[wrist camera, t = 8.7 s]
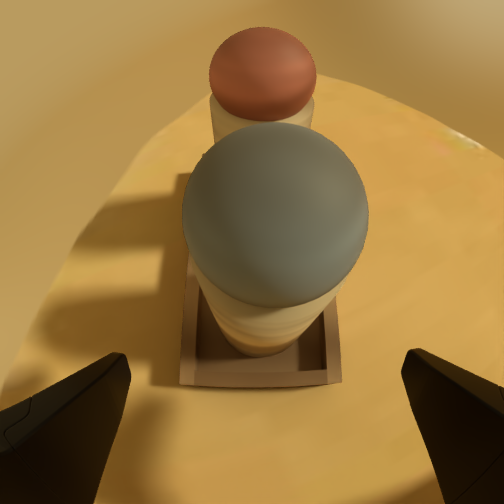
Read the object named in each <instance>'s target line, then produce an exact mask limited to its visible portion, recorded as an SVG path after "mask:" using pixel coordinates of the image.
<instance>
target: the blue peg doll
mask: <svg viewBox="0 0 504 504" xmlns="http://www.w3.org/2000/svg"><path fill="white" fill-rule="evenodd" d="M368 217H369V211H368V202H367V197H366V192H365V188H364V185H363V183H362V180H361V178H360V176H359V174H358V172H357V170H356V168H355V167H354V165H353V163H352V162H351V161H350V159H349V158H348V157H347V156H346V155H345V153H344V152H343V151H342V150H341V149H340V148H339V147H338V146H337V145H336V144H334V143H333V142H332V141H330V140H329V139H327V138H326V137H324V136H323V135H321V134H319V133H317V132H315V131H313V130H311V129H309V128H306V127H303V126H300V125H295V124H291V123H283V122H267V123H259V124H255V125H251V126H247V127H244V128H241V129H239V130H236V131H234V132H232V133H230V134H229V135H227V136H225V137H224V138H222V139H221V140H220V141H218V142H217V143H216V144H214V145H213V146H212V147H211V148H210V149H209V150H208V151H207V152H206V153H205V155H204V156H203V157H202V158H201V159H200V161H199V162H198V163H197V165H196V167H195V169H194V170H193V172H192V174H191V176H190V178H189V181H188V184H187V186H186V190H185V194H184V199H183V204H182V224H183V232H184V236H185V240H186V243H187V246H188V249H189V255H190V261H191V265H192V268H193V271H194V273H195V276H196V278H197V280H198V282H199V285H200V287H201V289H202V291H203V294H204V296H205V298H206V300H207V302H208V304H209V307H210V309H211V311H212V313H213V315H214V317H215V319H216V322H217V324H218V326H219V328H220V330H221V332H222V334H223V336H224V338H225V339H226V340H227V342H228V343H229V344H230V345H231V346H232V347H233V348H234V349H236V350H237V351H239V352H241V353H243V354H245V355H248V356H251V357H262V358H263V357H270V356H274V355H277V354H279V353H281V352H283V351H285V350H286V349H288V348H289V347H290V346H291V345H292V344H293V343H294V342H295V341H296V340H297V339H298V338H299V337H300V335H301V334H302V333H303V332H304V331H305V330H306V329H307V328H308V327H309V326H310V324H311V323H312V322H313V321H314V320H315V319H316V318H317V317H318V315H319V314H320V313H321V312H322V311H323V310H324V309H325V307H326V306H327V305H328V304H329V303H330V302H331V300H332V299H333V298H334V297H335V296H336V294H337V293H338V292H339V291H340V289H341V288H342V286H343V285H344V283H345V281H346V278H347V276H348V274H349V272H350V271H351V269H352V268H353V266H354V265H355V263H356V261H357V260H358V258H359V256H360V254H361V251H362V249H363V246H364V243H365V239H366V235H367V231H368Z"/></svg>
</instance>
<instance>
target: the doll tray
mask: <svg viewBox="0 0 504 504" xmlns="http://www.w3.org/2000/svg"><path fill="white" fill-rule="evenodd" d="M204 155H205V154H203V155H202V157H203V156H204ZM334 383H342V372H341V355H340V340H339V327H338V316H337V306H336V296H335V297H334V298H333V299H332V300H331V302H330V303H329V304H328V305H327V306H326V307H325V309H324V310H323V311H322V312H321V313H320V314H319V315H318V317H317V318H316V319H315V320H314V321H313V322H312V323H311V324H310V326H309V327H308V328H307V329H306V330H305V331H304V332H303V333H302V334H301V335H300V337H299V338H298V339H297V340H296V341H295V342H294V343H293V344H292V345H291V346H290V347H289V348H288V349H286V350H285V351H283V352H281V353H279V354H277V355H274V356H270V357H263V358H262V357H251V356H248V355H245V354H243V353H241V352H239V351H237V350H236V349H234V348H233V347H232V346H231V345H230V344H229V343H228V342H227V340H226V339H225V338H224V336H223V334H222V332H221V330H220V328H219V326H218V324H217V322H216V319H215V317H214V315H213V313H212V311H211V309H210V307H209V304H208V302H207V300H206V298H205V296H204V294H203V291H202V289H201V287H200V285H199V282H198V280H197V278H196V276H195V273H194V271H193V268H192V265H191V261H190V255H189V256H188V266H187V276H186V286H185V298H184V310H183V324H182V339H181V357H180V380H179V384H182V385H193V386H210V387H243V388H260V387H294V386H311V385H324V384H334Z"/></svg>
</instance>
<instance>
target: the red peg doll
mask: <svg viewBox="0 0 504 504" xmlns="http://www.w3.org/2000/svg"><path fill="white" fill-rule="evenodd" d="M209 81H210V87H211V89H212V92H213V93H212V95H211V97H210V110H211V118H212V126H213V134H214V142H215V144H216V143H217V142H218V141H220V140H221V139H222V138H224V137H225V136H227V135H229V134H230V133H232V132H234V131H236V130H239V129H241V128H244V127H247V126H251V125H255V124H259V123H267V122H283V123H291V124H295V125H300V126H303V127H306V128H309V129H310V127H311V122H312V116H313V110H314V99H313V97H312V94H313V92H314V89H315V85H316V68H315V64H314V61H313V59H312V56H311V54H310V53H309V51H308V50H307V48H306V47H305V46H304V45H303V44H302V43H301V42H300V41H299V40H298V39H297V38H295V37H294V36H292V35H290V34H289V33H287V32H284V31H282V30H279V29H275V28H269V27H257V28H249V29H246V30H243V31H240V32H238V33H236V34H234V35H232V36H231V37H229V38H228V39H227V40H225V41H224V42H223V44H221V45H220V47H219V48H218V49H217V51H216V52H215V54H214V56H213V58H212V61H211V65H210V70H209Z"/></svg>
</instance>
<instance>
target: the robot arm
mask: <svg viewBox="0 0 504 504" xmlns="http://www.w3.org/2000/svg"><path fill="white" fill-rule="evenodd" d="M401 375H402V379H403V382H404V385H405V389H406V392H407V395H408V399H409V402H410V406H411V409H412V412H413V415H414V417H415V420H416V422H417V425H418V427H419V430H420V432H421V435H422V437H423V440H424V443H425V445H426V448H427V451H428V453H429V456H430V459H431V462H432V465H433V468H434V470H435V473H436V476H437V479H438V483H439V486H440V489H441V492H442V495H443V498H444V502H445V504H504V388H503V387H501V386H498V385H497V384H494V383H492V382H490V381H488V380H486V379H484V378H482V377H479V376H477V375H475V374H473V373H471V372H469V371H467V370H465V369H462V368H460V367H458V366H456V365H454V364H452V363H450V362H448V361H446V360H444V359H441V358H439V357H437V356H435V355H433V354H431V353H429V352H427V351H425V350H423V349H421V348H416V349H410V350H409V351H408V352H407V354H406V357H405V360H404V363H403V366H402V369H401ZM130 382H131V372H130V368H129V365H128V361H127V358H126V356H125V354H123V353H116V352H112V353H110V354H108V355H107V356H105V357H103V358H101V359H99V360H98V361H96V362H94V363H92V364H90V365H89V366H87V367H85V368H83V369H81V370H79V371H78V372H76V373H74V374H72V375H70V376H68V377H67V378H65V379H63V380H61V381H59V382H57V383H55V384H54V385H52V386H50V387H48V388H46V389H44V390H42V391H41V392H39V393H37V394H35V395H33V396H32V397H29V398H27V399H25V400H24V401H22V402H20V403H18V404H16V405H14V406H12V407H9V408H7V409H5V410H2V411H0V504H94V500H95V497H96V493H97V490H98V487H99V484H100V480H101V477H102V474H103V471H104V468H105V465H106V462H107V459H108V456H109V453H110V450H111V447H112V444H113V441H114V438H115V436H116V433H117V430H118V427H119V424H120V421H121V418H122V415H123V411H124V407H125V402H126V398H127V394H128V390H129V386H130Z"/></svg>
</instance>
